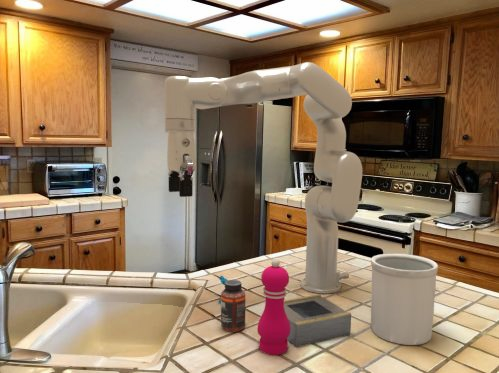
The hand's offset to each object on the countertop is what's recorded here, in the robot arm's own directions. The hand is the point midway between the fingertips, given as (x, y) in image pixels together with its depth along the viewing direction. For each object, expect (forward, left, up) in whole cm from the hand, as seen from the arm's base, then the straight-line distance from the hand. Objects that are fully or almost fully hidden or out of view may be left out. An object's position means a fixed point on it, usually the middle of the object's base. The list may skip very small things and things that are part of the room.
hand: (180, 193), depth 107 cm
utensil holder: (-45, +33, -31) cm, 64 cm away
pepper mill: (-13, +28, -31) cm, 44 cm away
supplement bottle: (-9, +15, -31) cm, 36 cm away
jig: (-25, +23, -31) cm, 46 cm away
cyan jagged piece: (-15, 0, -32) cm, 35 cm away
